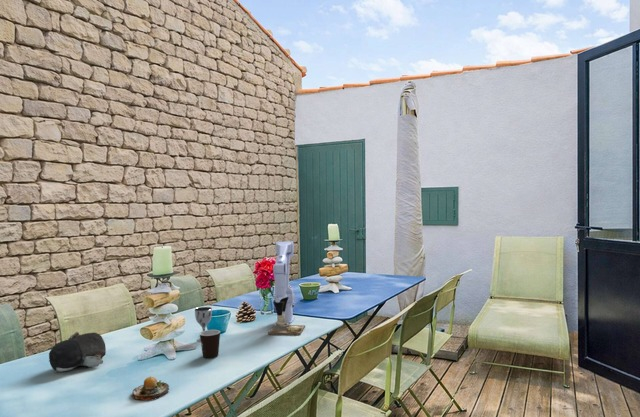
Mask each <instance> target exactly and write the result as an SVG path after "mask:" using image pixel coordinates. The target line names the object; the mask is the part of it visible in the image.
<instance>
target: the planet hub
mask: <svg viewBox="0 0 640 417" xmlns="http://www.w3.org/2000/svg"><path fill="white" fill-rule="evenodd" d="M276 316H277V321H276V323H277V325H278V326H284V325H285V314H282V315H277V314H276Z"/></svg>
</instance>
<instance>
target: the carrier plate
mask: <svg viewBox="0 0 640 417" xmlns="http://www.w3.org/2000/svg"><path fill="white" fill-rule="evenodd" d="M305 328H306V325H305V324H298V325H297V324H291V325H290V323H287V322H285V325H284V326H278V325H277V322H276V323H273V327H272V328H271V329H270V330H269V331H268V332H267V335H268V336H271V335H272V336H301V335H302V333H303V331H304V329H305Z"/></svg>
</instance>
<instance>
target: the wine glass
mask: <svg viewBox="0 0 640 417" xmlns="http://www.w3.org/2000/svg"><path fill="white" fill-rule="evenodd" d="M212 315H213V309H212V306H200V307H196V308H194V318H195V321H196V323H197V324H199V325H200V327H201V329H202V332H203V331H206V328H207V326H208V324H209V323H210V322H211V320H212ZM196 342H197V343H201V340H200V338H197V339H196Z"/></svg>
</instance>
